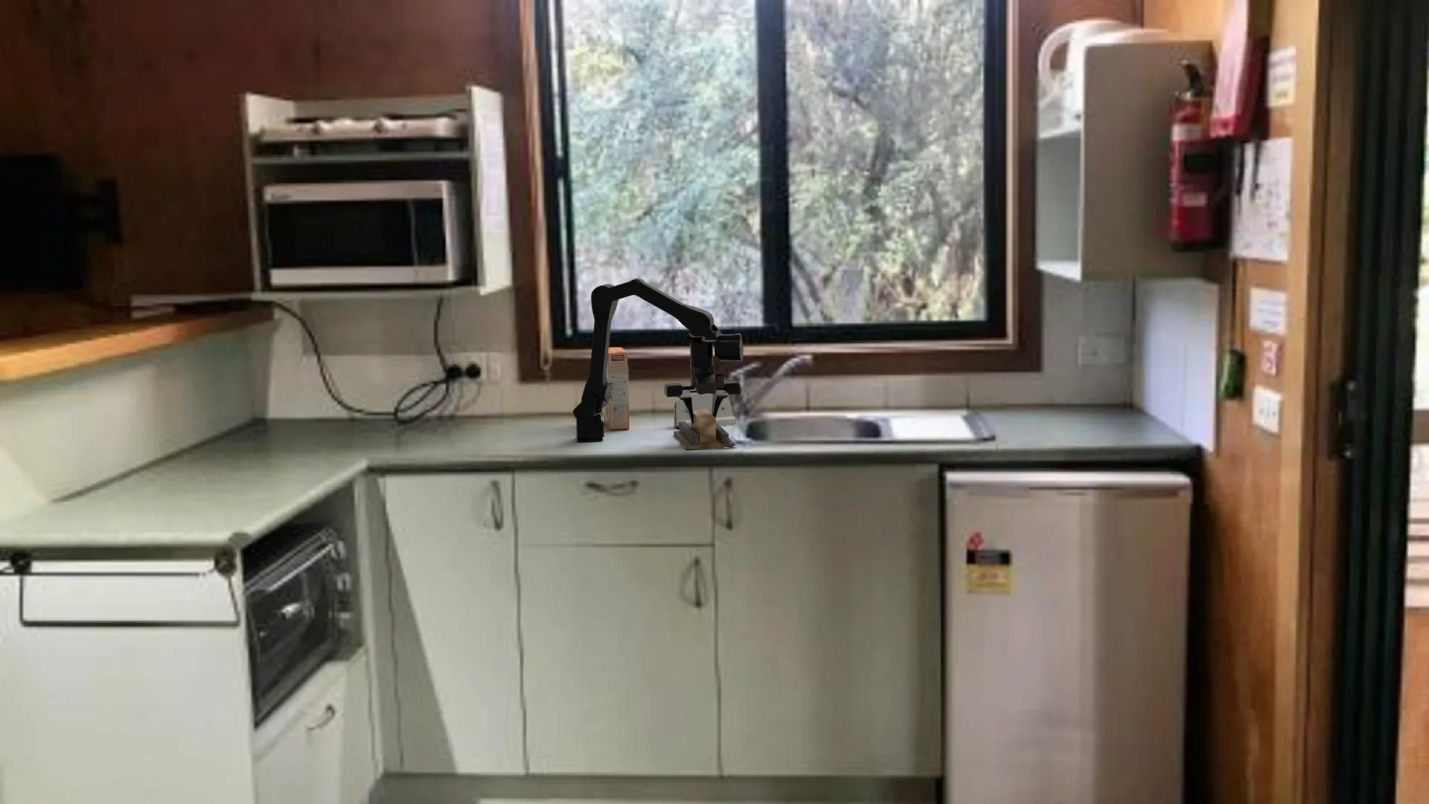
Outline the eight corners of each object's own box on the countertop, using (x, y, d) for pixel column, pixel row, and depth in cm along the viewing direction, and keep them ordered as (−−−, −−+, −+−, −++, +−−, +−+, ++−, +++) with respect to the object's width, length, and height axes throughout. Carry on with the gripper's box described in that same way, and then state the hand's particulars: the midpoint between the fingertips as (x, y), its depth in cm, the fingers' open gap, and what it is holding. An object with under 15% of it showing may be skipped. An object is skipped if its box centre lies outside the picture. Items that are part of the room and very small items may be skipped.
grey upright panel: (679, 430, 353) (674, 393, 354) (674, 433, 357) (669, 397, 359) (737, 425, 359) (732, 389, 360) (731, 428, 363) (726, 392, 365)
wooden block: (700, 442, 328) (699, 418, 327) (691, 433, 342) (690, 410, 341) (716, 441, 329) (715, 417, 328) (706, 432, 343) (706, 409, 342)
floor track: (686, 450, 324) (686, 436, 323) (673, 434, 345) (673, 421, 345) (735, 447, 326) (734, 433, 325) (719, 432, 347) (719, 419, 347)
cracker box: (631, 429, 355) (628, 351, 351) (608, 431, 353) (605, 352, 350) (624, 421, 368) (622, 346, 365) (603, 422, 367) (600, 347, 364)
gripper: (669, 366, 323) (670, 429, 326) (744, 363, 326) (745, 426, 329) (663, 361, 334) (664, 422, 336) (736, 358, 337) (737, 419, 340)
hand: (703, 422), depth 335 cm, fingers open, 5 cm apart
